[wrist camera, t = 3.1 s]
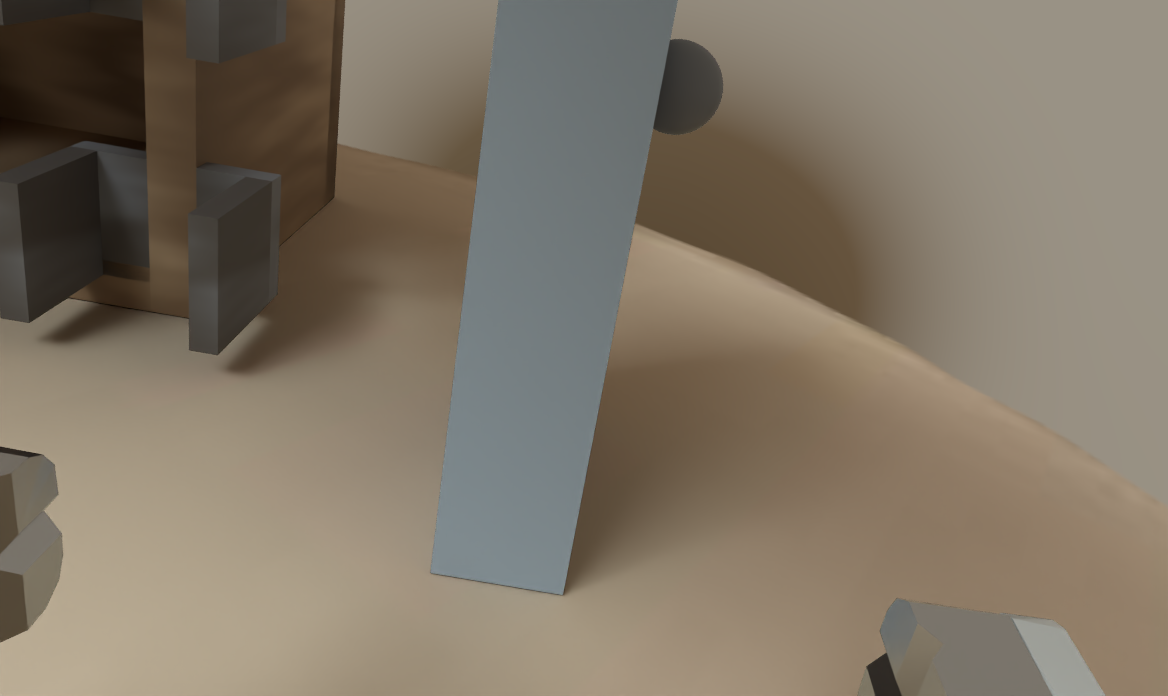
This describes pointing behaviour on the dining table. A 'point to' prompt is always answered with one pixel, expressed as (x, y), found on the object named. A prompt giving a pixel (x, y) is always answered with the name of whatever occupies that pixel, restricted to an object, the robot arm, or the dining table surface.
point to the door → (552, 269)
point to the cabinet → (162, 152)
